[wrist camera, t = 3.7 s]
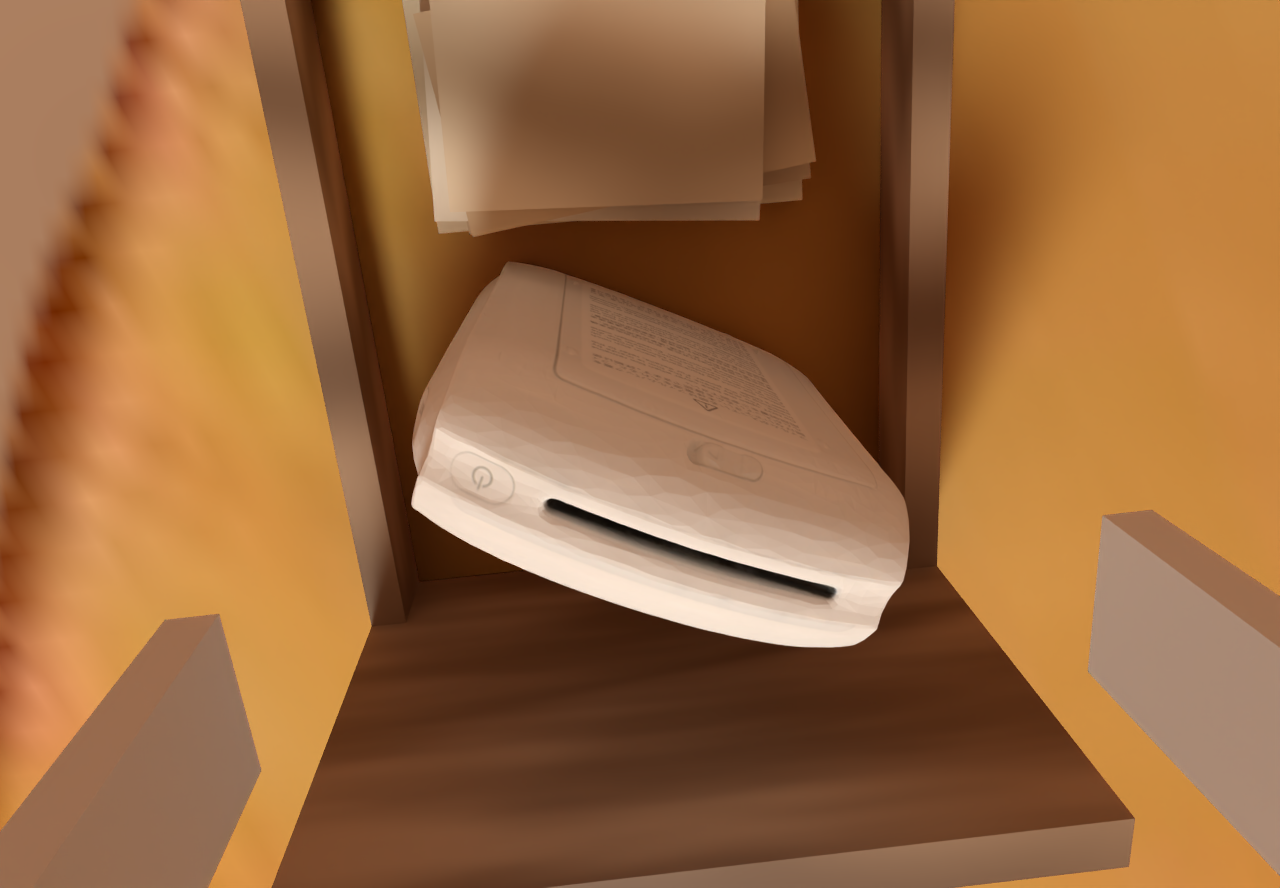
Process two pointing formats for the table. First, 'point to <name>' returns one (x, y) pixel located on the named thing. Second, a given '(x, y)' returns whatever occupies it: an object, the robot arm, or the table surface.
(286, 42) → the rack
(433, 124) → the offcut stack
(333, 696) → the table surface
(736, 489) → the photo printer
